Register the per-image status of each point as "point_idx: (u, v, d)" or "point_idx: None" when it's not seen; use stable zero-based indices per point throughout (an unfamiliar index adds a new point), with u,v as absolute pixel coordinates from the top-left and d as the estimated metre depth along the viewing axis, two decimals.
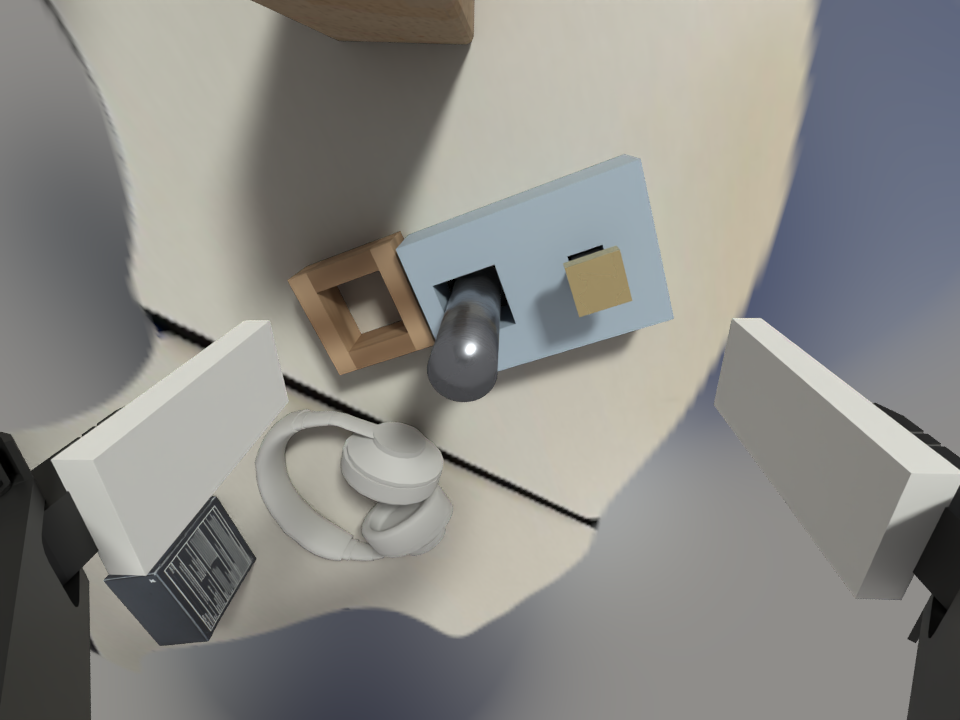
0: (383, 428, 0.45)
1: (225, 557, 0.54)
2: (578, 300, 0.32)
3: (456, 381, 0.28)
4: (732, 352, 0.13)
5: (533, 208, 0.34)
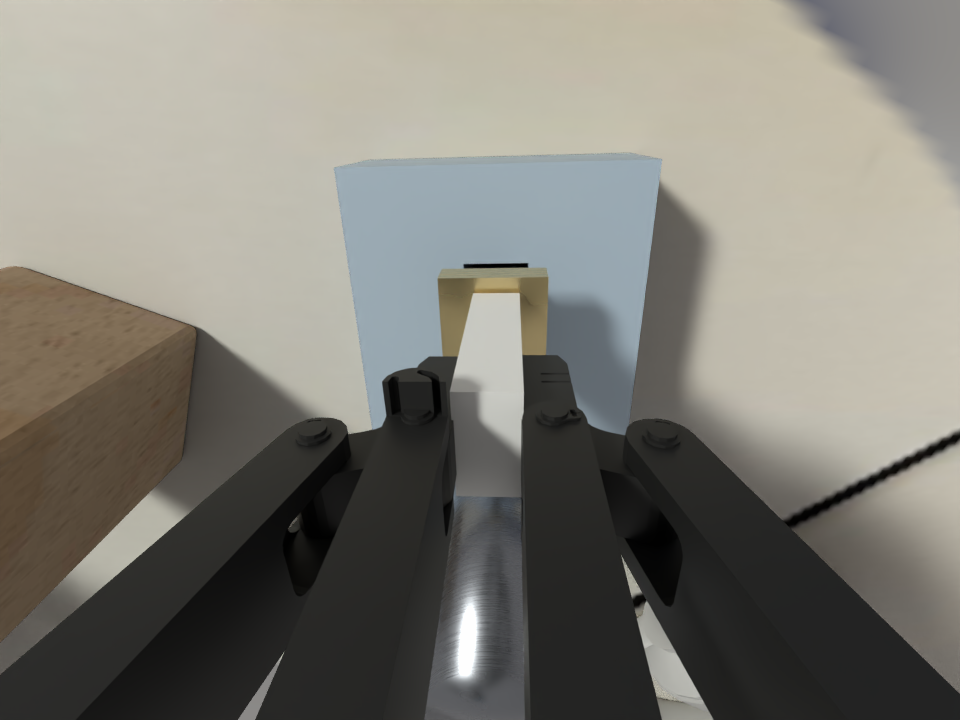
0: (650, 617, 0.30)
1: None
2: None
3: None
4: None
5: (375, 352, 0.21)
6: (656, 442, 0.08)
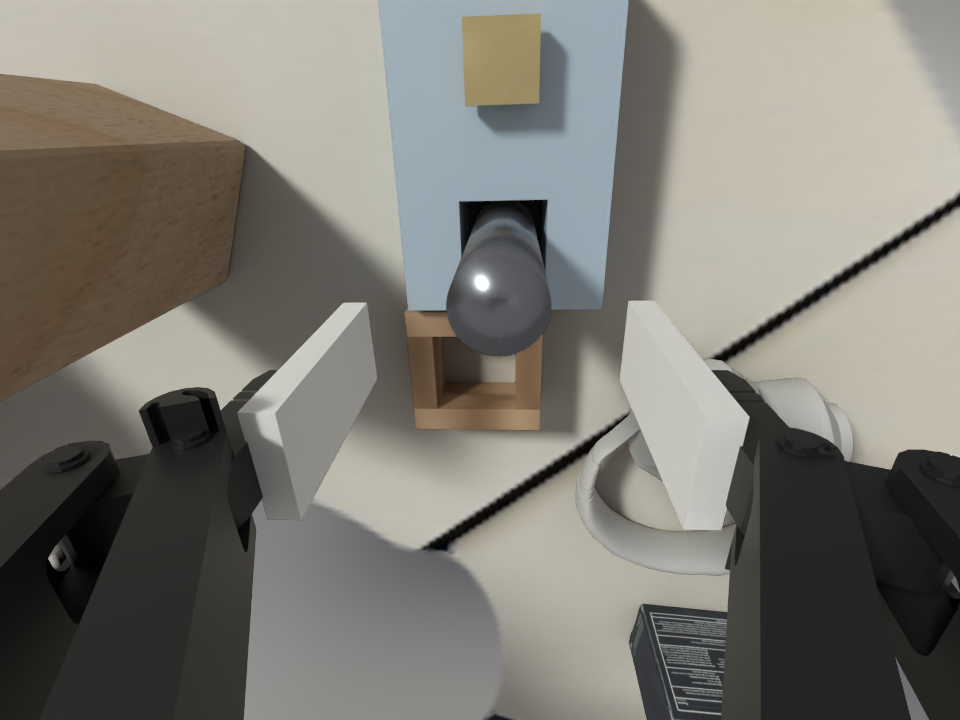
0: None
1: (715, 642, 0.44)
2: (514, 98, 0.23)
3: (511, 320, 0.18)
4: (628, 331, 0.14)
5: (402, 126, 0.26)
6: (939, 476, 0.07)
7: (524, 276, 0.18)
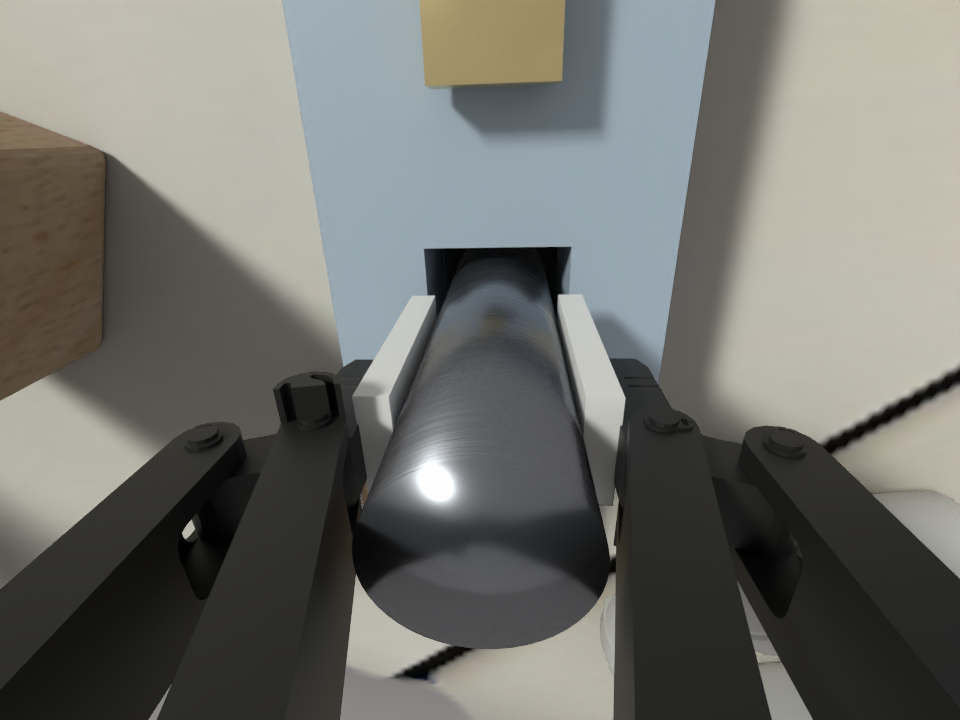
0: None
1: None
2: (516, 71, 0.13)
3: (510, 590, 0.08)
4: (557, 323, 0.15)
5: (323, 124, 0.15)
6: (779, 450, 0.08)
7: (544, 506, 0.07)
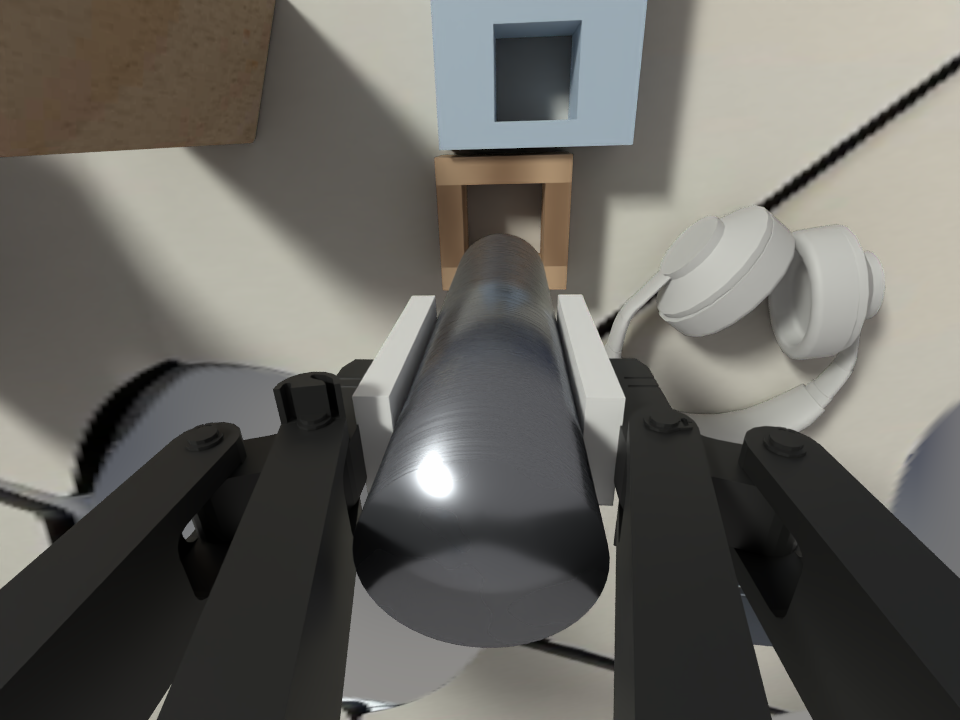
0: (667, 262, 0.34)
1: None
2: None
3: (510, 589, 0.08)
4: (558, 323, 0.15)
5: None
6: (778, 449, 0.08)
7: (544, 505, 0.07)
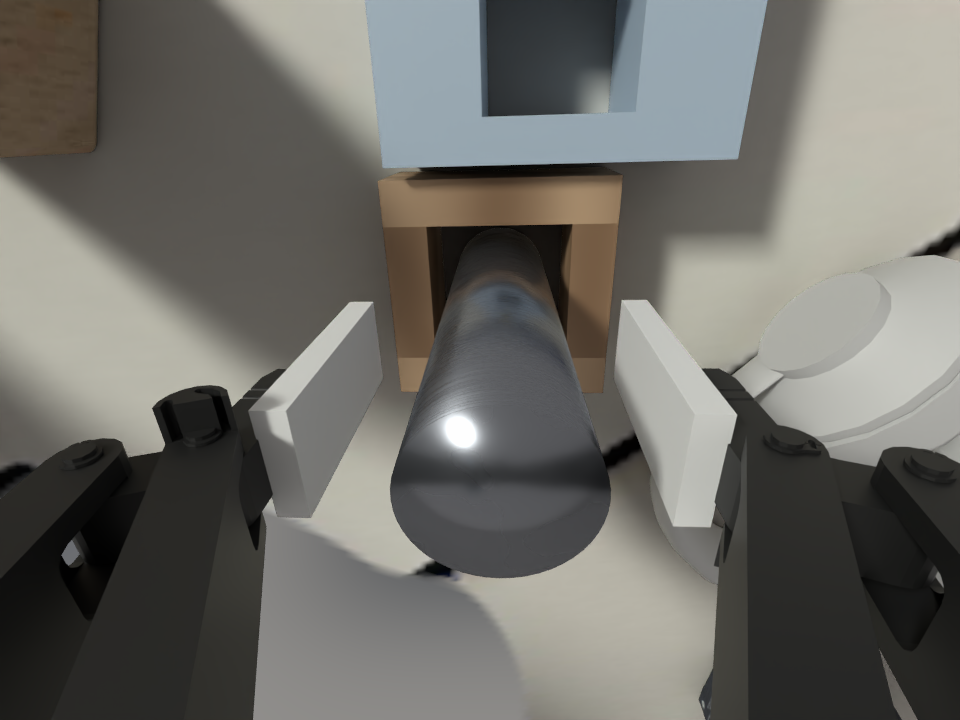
0: (773, 347, 0.21)
1: None
2: None
3: (526, 521, 0.09)
4: (621, 329, 0.15)
5: None
6: (922, 473, 0.07)
7: (555, 444, 0.08)
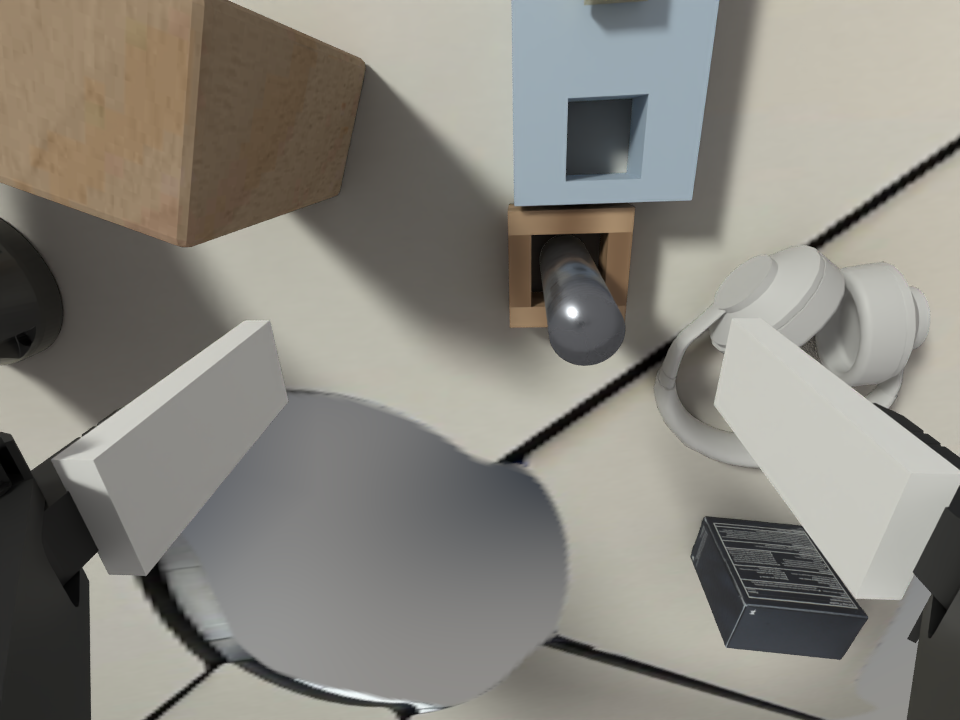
0: (721, 297, 0.37)
1: (778, 547, 0.47)
2: None
3: (595, 340, 0.26)
4: (732, 352, 0.13)
5: (522, 27, 0.29)
6: None
7: (606, 309, 0.25)
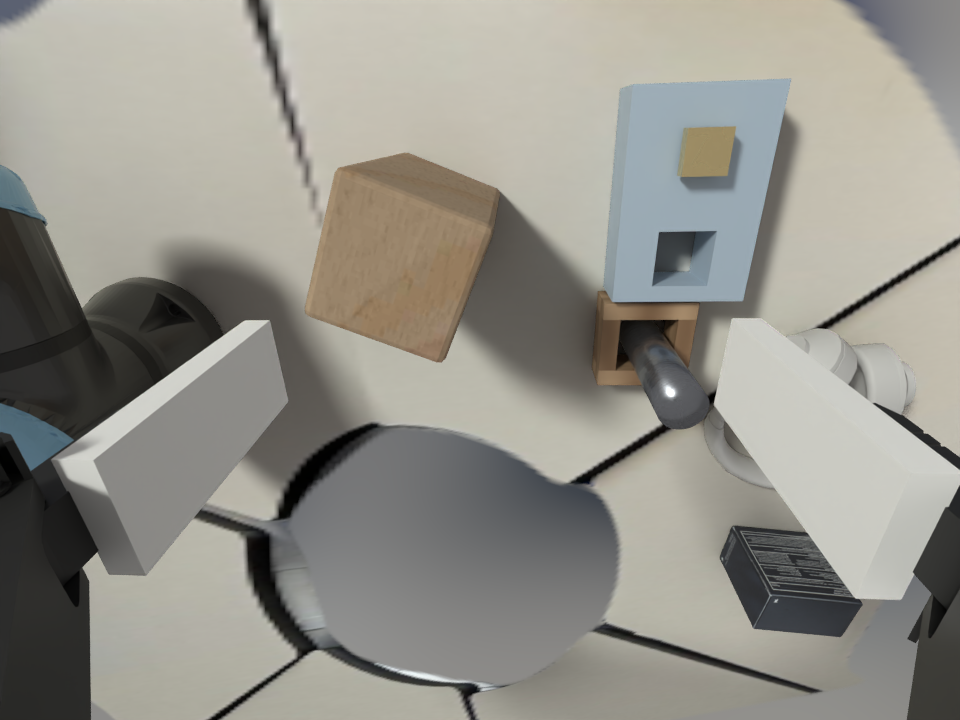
0: None
1: (792, 550, 0.60)
2: (712, 172, 0.39)
3: (688, 413, 0.38)
4: (732, 351, 0.13)
5: (630, 186, 0.41)
6: None
7: (698, 394, 0.37)
